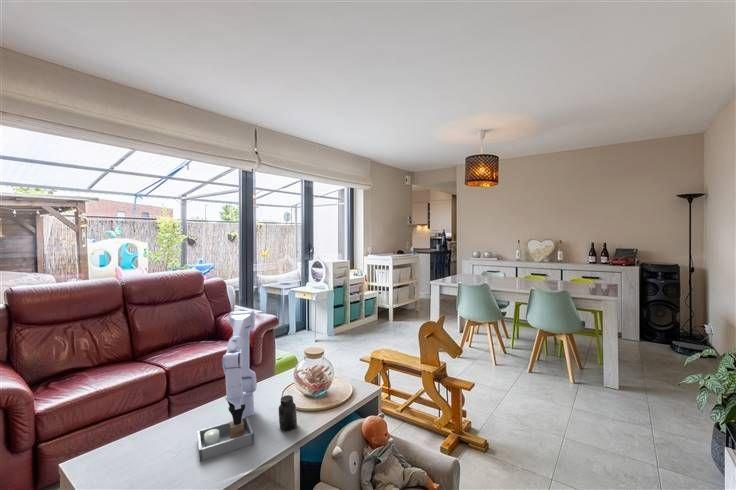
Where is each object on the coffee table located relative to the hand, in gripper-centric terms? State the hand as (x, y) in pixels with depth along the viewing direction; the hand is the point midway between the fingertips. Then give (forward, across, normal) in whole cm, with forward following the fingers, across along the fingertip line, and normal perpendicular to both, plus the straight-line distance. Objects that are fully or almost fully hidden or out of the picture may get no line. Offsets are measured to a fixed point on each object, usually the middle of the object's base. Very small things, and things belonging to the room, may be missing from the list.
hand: (236, 418), depth 128 cm
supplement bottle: (+8, -2, -19) cm, 21 cm away
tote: (+8, 0, +4) cm, 9 cm away
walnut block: (+8, 0, 0) cm, 8 cm away
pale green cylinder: (+8, 0, +8) cm, 11 cm away
